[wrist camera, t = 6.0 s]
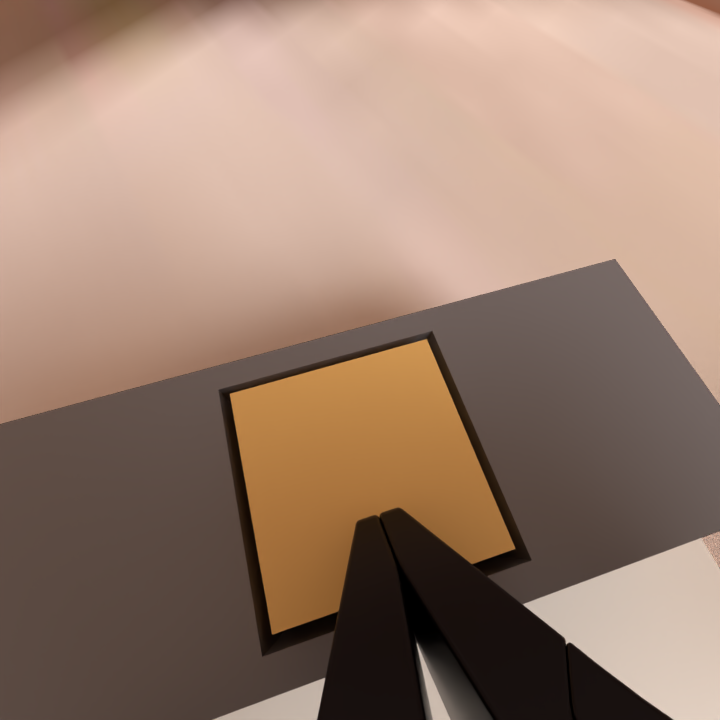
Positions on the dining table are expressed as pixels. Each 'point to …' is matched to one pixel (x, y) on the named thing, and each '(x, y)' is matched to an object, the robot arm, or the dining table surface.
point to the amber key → (355, 472)
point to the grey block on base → (314, 639)
